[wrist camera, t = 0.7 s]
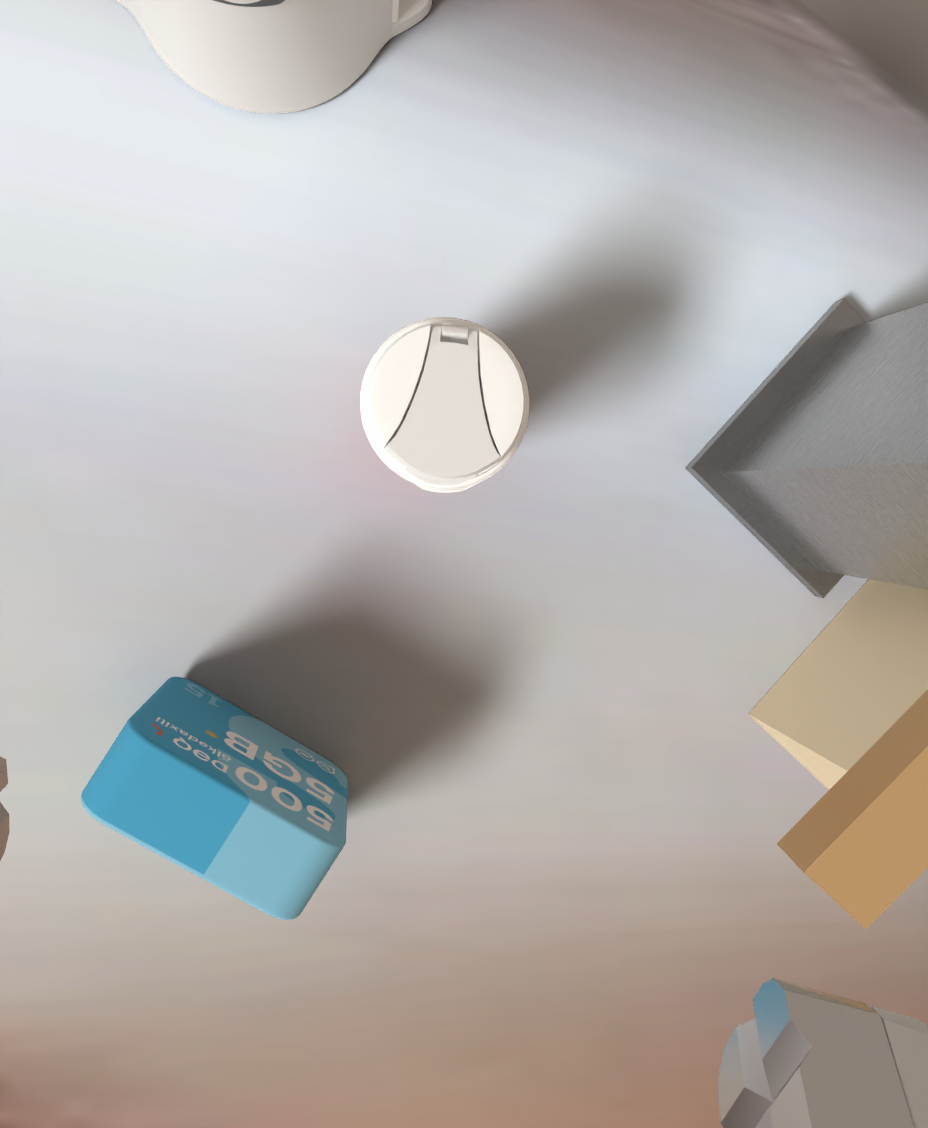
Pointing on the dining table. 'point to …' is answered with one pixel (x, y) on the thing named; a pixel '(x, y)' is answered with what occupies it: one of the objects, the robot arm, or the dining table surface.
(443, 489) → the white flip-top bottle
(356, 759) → the dining table surface
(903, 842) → the brown wooden bar
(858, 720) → the carton
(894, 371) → the dispenser stand
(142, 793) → the data package
